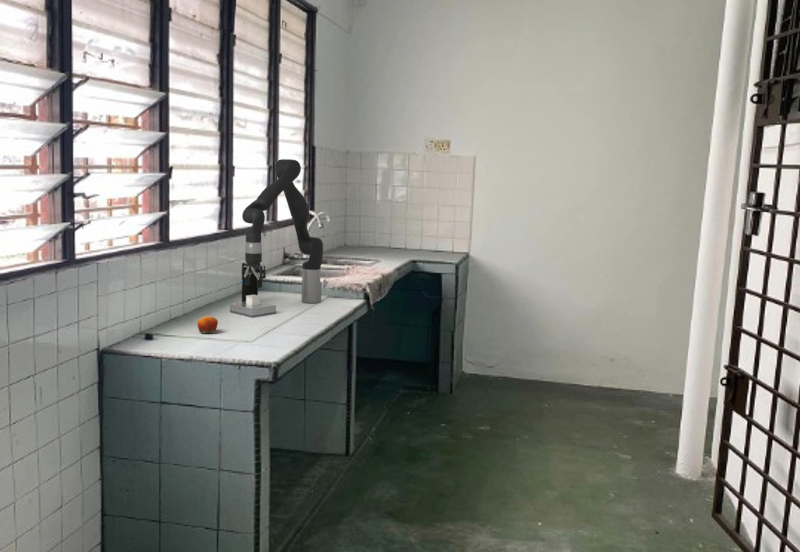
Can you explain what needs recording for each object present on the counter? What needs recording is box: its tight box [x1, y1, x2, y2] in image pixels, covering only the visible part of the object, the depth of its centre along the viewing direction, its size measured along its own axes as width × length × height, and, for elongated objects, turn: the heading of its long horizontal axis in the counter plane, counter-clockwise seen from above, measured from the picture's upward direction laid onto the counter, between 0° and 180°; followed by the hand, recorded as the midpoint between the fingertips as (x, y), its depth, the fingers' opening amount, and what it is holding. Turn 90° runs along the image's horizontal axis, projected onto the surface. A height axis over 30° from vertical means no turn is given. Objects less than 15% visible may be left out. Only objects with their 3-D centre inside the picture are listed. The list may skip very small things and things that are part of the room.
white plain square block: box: [246, 295, 261, 306], centre depth 335 cm, size 4×4×7 cm
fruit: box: [196, 315, 219, 335], centre depth 293 cm, size 8×8×8 cm
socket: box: [229, 301, 277, 319], centre depth 335 cm, size 14×16×5 cm
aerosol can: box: [241, 270, 259, 302], centre depth 354 cm, size 8×8×20 cm
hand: (253, 286), depth 334 cm, fingers open, 8 cm apart
